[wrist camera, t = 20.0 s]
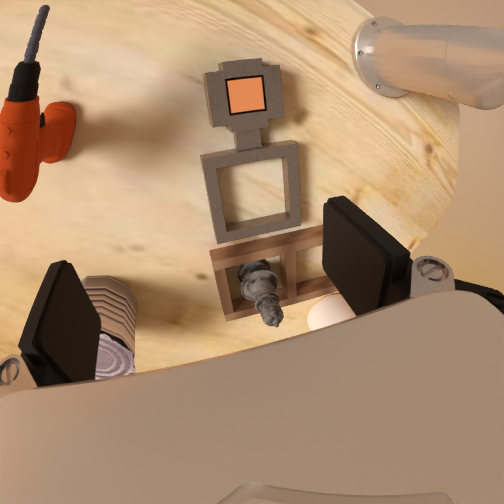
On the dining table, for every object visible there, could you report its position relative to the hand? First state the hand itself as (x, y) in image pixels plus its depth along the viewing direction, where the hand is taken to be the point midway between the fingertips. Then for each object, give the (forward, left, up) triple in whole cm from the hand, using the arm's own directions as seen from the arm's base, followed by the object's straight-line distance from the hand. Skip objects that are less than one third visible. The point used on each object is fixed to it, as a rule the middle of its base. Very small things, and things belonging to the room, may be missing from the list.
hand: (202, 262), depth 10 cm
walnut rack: (-12, +24, -28) cm, 39 cm away
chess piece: (-7, +24, -28) cm, 38 cm away
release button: (-8, -3, -28) cm, 29 cm away
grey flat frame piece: (-8, +4, -28) cm, 30 cm away
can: (+18, +23, -29) cm, 41 cm away
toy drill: (+13, -8, -28) cm, 32 cm away
